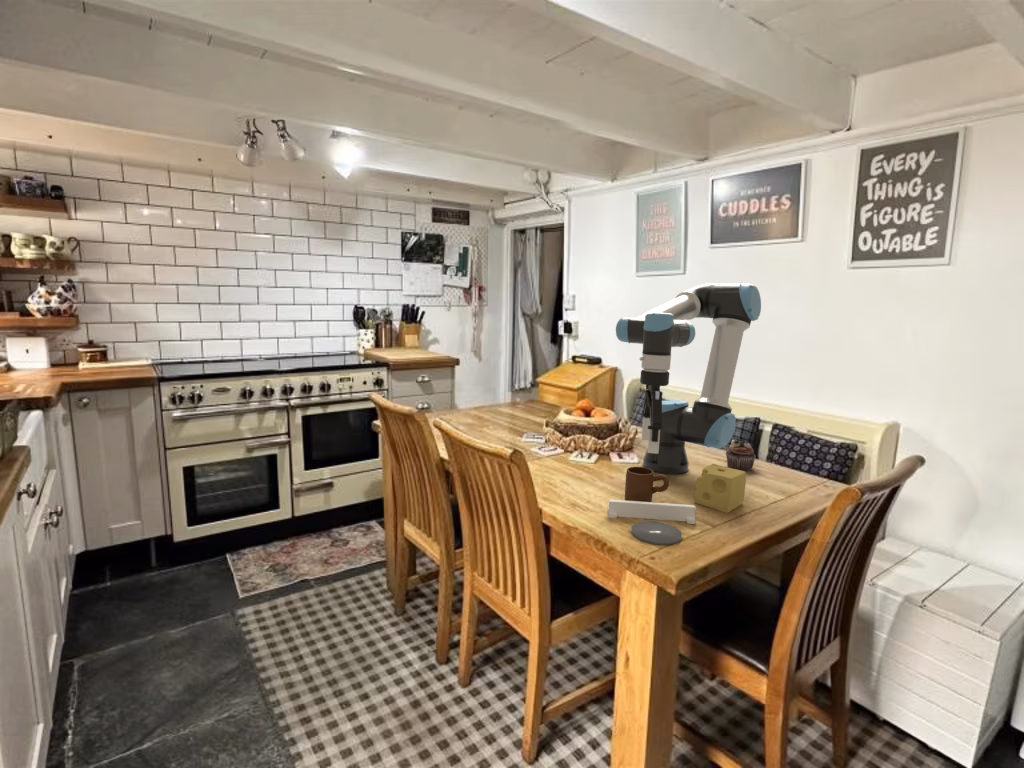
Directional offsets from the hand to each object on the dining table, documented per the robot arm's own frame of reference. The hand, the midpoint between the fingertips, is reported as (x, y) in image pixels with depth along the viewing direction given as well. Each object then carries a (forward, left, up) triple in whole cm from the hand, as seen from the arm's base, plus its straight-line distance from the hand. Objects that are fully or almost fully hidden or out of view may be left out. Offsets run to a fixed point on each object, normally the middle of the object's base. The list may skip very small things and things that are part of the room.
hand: (649, 446), depth 151 cm
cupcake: (-41, +37, -17) cm, 58 cm away
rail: (+10, 0, -17) cm, 19 cm away
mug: (0, 0, -17) cm, 17 cm away
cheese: (-4, +21, -17) cm, 27 cm away
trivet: (+20, 0, -17) cm, 26 cm away
